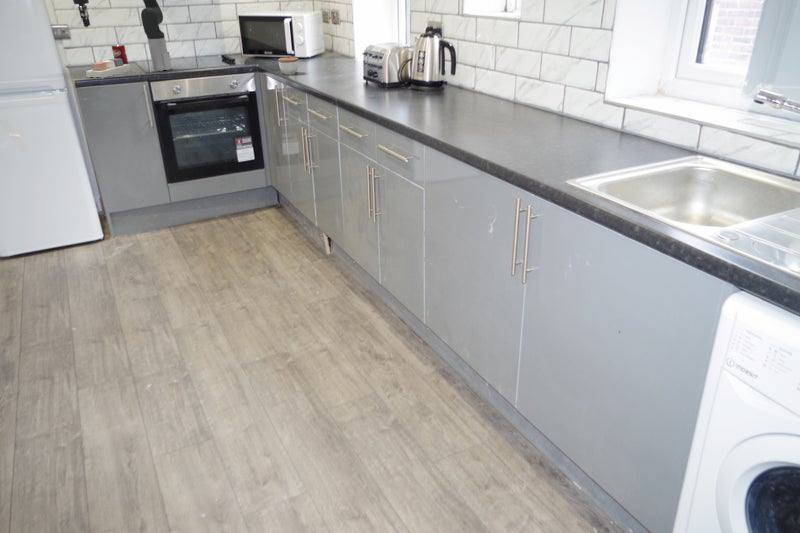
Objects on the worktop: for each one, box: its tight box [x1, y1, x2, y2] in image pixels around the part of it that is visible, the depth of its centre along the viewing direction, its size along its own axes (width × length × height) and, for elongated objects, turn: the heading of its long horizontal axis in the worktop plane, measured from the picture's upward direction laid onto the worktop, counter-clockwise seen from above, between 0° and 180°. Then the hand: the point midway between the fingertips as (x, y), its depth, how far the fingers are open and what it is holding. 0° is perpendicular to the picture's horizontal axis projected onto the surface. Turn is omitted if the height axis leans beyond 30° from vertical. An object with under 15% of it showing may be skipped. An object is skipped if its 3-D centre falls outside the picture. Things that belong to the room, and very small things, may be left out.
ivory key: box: [101, 59, 115, 69], centre depth 333 cm, size 5×5×4 cm
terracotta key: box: [91, 61, 107, 71], centre depth 327 cm, size 5×5×4 cm
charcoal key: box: [108, 58, 123, 67], centre depth 339 cm, size 5×5×4 cm
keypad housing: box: [85, 64, 132, 78], centre depth 334 cm, size 10×24×4 cm, turn 166°
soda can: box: [111, 44, 130, 65], centre depth 358 cm, size 7×7×12 cm
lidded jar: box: [277, 55, 299, 76], centre depth 323 cm, size 11×11×9 cm
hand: (87, 26), depth 334 cm, fingers open, 8 cm apart
